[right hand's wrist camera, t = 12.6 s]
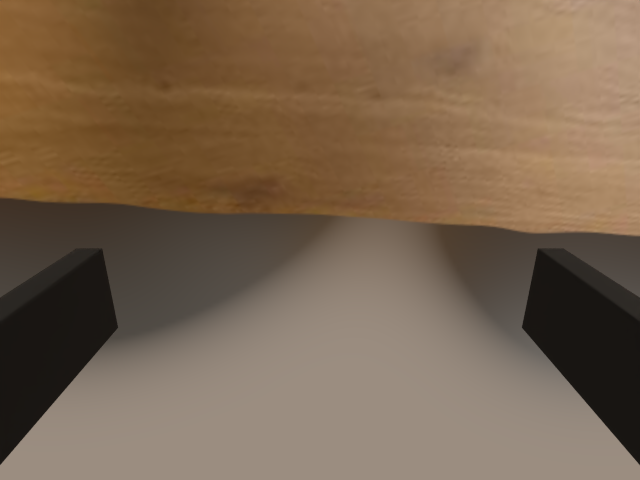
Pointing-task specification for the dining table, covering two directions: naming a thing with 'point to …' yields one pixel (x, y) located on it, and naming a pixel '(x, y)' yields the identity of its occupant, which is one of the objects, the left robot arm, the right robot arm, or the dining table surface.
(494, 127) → the dining table surface
